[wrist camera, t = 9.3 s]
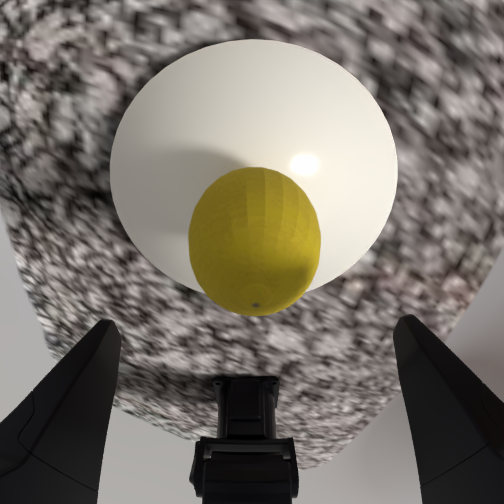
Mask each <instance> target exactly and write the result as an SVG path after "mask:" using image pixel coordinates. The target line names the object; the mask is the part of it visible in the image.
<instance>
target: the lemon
mask: <svg viewBox="0 0 504 504" xmlns="http://www.w3.org/2000/svg"><path fill="white" fill-rule="evenodd" d="M188 245H189V258H190V263H191V267H192V270H193V272H194V275H195V278H196V280H197V282H198V284H199V285H200V287H201V288H202V289H203V291H204V292H205V293H206V295H207V296H208V297H209V298H210V299H212V300H213V301H214V302H215V303H217V304H218V305H219V306H221V307H223V308H225V309H227V310H229V311H231V312H234V313H237V314H241V315H247V316H262V315H268V314H272V313H276V312H279V311H281V310H283V309H285V308H287V307H289V306H290V305H291V304H293V303H294V302H295V301H297V300H298V299H299V298H300V297H301V296H302V295H303V294H304V292H305V291H306V290H307V289H308V287H309V286H310V285H311V283H312V280H313V278H314V276H315V273H316V271H317V268H318V265H319V258H320V248H321V232H320V227H319V223H318V218H317V214H316V211H315V209H314V207H313V205H312V204H311V202H310V200H309V198H308V197H307V195H306V193H305V192H304V191H303V190H302V189H301V188H300V187H299V186H298V185H297V184H296V183H295V182H294V181H293V180H292V179H291V178H289V177H287V176H285V175H284V174H282V173H280V172H278V171H275V170H271V169H267V168H263V167H246V168H241V169H237V170H233V171H231V172H229V173H227V174H225V175H223V176H221V177H219V178H218V179H217V180H216V181H215V182H214V183H212V184H211V185H210V186H209V187H208V188H207V189H206V190H205V192H204V193H203V195H202V196H201V198H200V199H199V201H198V203H197V204H196V206H195V208H194V211H193V214H192V218H191V222H190V225H189V231H188Z"/></svg>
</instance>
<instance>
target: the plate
mask: <svg viewBox="0 0 504 504" xmlns="http://www.w3.org/2000/svg"><path fill="white" fill-rule="evenodd" d="M246 167H263V168H267V169H271V170H275V171H278V172H280V173H282V174H284V175H285V176H287V177H289V178H291V179H292V180H293V181H294V182H295V183H296V184H297V185H298V186H299V187H300V188H301V189H302V190H303V191H304V192H305V193H306V195H307V197H308V198H309V200H310V202H311V204H312V205H313V207H314V209H315V211H316V214H317V218H318V223H319V227H320V232H321V248H320V258H319V265H318V268H317V271H316V273H315V276H314V278H313V280H312V283H311V285H310V286H309V287H308V289H307V290H306V291H305V292H307V291H310V290H313V289H315V288H317V287H319V286H321V285H324V284H326V283H328V282H330V281H331V280H333V279H334V278H336V277H337V276H339V275H341V274H342V273H344V272H345V271H346V270H347V269H349V268H350V267H351V266H352V265H354V264H355V263H356V262H357V261H358V260H359V259H360V258H361V257H362V256H363V255H364V254H365V253H366V252H367V251H368V249H369V248H370V247H371V245H372V244H373V243H374V242H375V240H376V239H377V237H378V236H379V234H380V232H381V230H382V229H383V227H384V225H385V223H386V221H387V218H388V216H389V214H390V211H391V208H392V205H393V201H394V198H395V193H396V186H397V156H396V149H395V143H394V140H393V137H392V134H391V130H390V127H389V125H388V123H387V121H386V119H385V117H384V115H383V112H382V110H381V109H380V107H379V106H378V104H377V103H376V101H375V100H374V98H373V97H372V96H371V94H370V93H369V92H368V91H367V89H366V88H365V87H364V86H363V85H362V84H361V83H360V82H359V81H358V80H357V79H356V78H355V77H354V76H353V75H351V74H350V73H349V72H348V71H346V70H345V69H344V68H342V67H341V66H340V65H338V64H337V63H335V62H333V61H331V60H330V59H328V58H326V57H324V56H323V55H321V54H319V53H316V52H314V51H311V50H308V49H306V48H303V47H300V46H297V45H293V44H288V43H284V42H279V41H272V40H255V39H250V40H238V41H228V42H224V43H220V44H216V45H212V46H208V47H205V48H202V49H200V50H197V51H195V52H192V53H190V54H187V55H185V56H183V57H182V58H180V59H178V60H177V61H175V62H173V63H172V64H170V65H168V66H167V67H165V68H164V69H163V70H162V71H160V72H159V73H158V74H157V75H155V76H154V77H153V78H152V79H151V80H150V81H149V82H148V83H147V84H146V85H145V86H144V87H143V88H142V89H141V91H140V92H139V93H138V94H137V95H136V96H135V98H134V99H133V101H132V102H131V104H130V105H129V107H128V108H127V110H126V112H125V113H124V116H123V118H122V120H121V122H120V124H119V127H118V129H117V132H116V135H115V139H114V142H113V146H112V151H111V159H110V185H111V191H112V197H113V201H114V205H115V208H116V211H117V214H118V217H119V219H120V221H121V223H122V225H123V227H124V229H125V231H126V233H127V234H128V236H129V237H130V239H131V240H132V242H133V243H134V245H135V246H136V247H137V248H138V250H139V251H140V252H141V253H142V254H143V255H144V256H145V257H146V258H147V259H148V260H149V261H150V262H151V263H152V264H153V265H154V266H155V267H157V268H158V269H159V270H160V271H162V272H163V273H164V274H166V275H167V276H169V277H170V278H172V279H174V280H175V281H177V282H179V283H181V284H183V285H185V286H187V287H189V288H191V289H194V290H196V291H199V292H202V293H205V292H204V291H203V289H202V288H201V287H200V285H199V284H198V282H197V280H196V278H195V275H194V272H193V270H192V267H191V263H190V258H189V245H188V231H189V225H190V222H191V218H192V214H193V211H194V208H195V206H196V204H197V203H198V201H199V199H200V198H201V196H202V195H203V193H204V192H205V190H206V189H207V188H208V187H209V186H210V185H211V184H212V183H214V182H215V181H216V180H217V179H218V178H219V177H221V176H223V175H225V174H227V173H229V172H231V171H233V170H237V169H241V168H246ZM305 292H304V293H305ZM205 294H206V293H205Z"/></svg>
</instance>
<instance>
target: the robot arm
mask: <svg viewBox="0 0 504 504" xmlns="http://www.w3.org/2000/svg"><path fill="white" fill-rule="evenodd" d="M393 341H394V347H395V354H396V361H397V368H398V375H399V380H400V385H401V389H402V393H403V397H404V402H405V406H406V411H407V415H408V420H409V425H410V430H411V434H412V440H413V445H414V450H415V456H416V461H417V468H418V474H419V481H420V485H421V486H420V488H421V495H422V503H423V504H504V403H503V402H502V401H501V400H500V399H499V398H498V397H497V396H496V395H495V394H494V393H493V392H492V391H491V390H490V389H489V388H488V387H487V386H486V385H485V384H484V383H482V381H481V380H480V379H479V378H478V377H477V376H476V375H475V374H474V373H473V372H472V371H471V370H470V369H469V368H468V367H467V366H466V365H465V364H464V363H463V362H462V361H461V360H460V359H459V358H458V357H457V356H456V355H455V354H454V353H453V352H452V351H451V350H450V349H449V348H448V347H447V346H446V345H445V344H444V343H443V342H442V341H441V340H440V339H439V338H438V337H437V336H436V335H435V334H434V333H433V332H431V331H430V330H429V329H428V328H427V327H426V326H425V325H424V324H423V323H422V322H421V321H420V320H419V319H418V318H417V317H415V316H414V315H412V314H408V315H402V316H401V317H400V318H399V320H398V323H397V325H396V327H395V329H394V332H393ZM120 350H121V335H120V333H119V331H118V329H117V327H116V325H115V323H114V321H113V320H108V319H102V320H100V321H99V322H98V323H97V324H96V325H95V326H94V327H93V328H92V329H91V330H90V331H89V332H88V333H87V334H86V335H85V336H84V337H83V338H82V339H81V340H80V341H79V342H78V343H77V344H76V345H75V346H74V347H73V348H72V349H71V350H70V351H69V352H68V353H67V354H66V355H65V356H64V357H63V358H62V359H61V360H60V361H59V362H58V363H57V364H56V365H55V367H54V368H53V369H52V370H51V371H50V372H49V373H48V374H47V375H46V376H45V377H44V378H43V380H41V381H40V383H39V384H38V385H37V386H36V387H35V388H34V389H33V391H31V392H30V393H29V394H28V396H27V397H26V398H25V399H24V400H23V401H22V402H21V403H20V404H19V405H18V406H17V407H16V408H15V409H14V410H13V411H12V412H11V413H10V414H9V415H8V416H7V417H6V418H5V419H4V420H3V421H2V422H0V504H97V498H98V489H99V481H100V473H101V466H102V459H103V453H104V447H105V441H106V435H107V429H108V424H109V419H110V414H111V409H112V404H113V399H114V394H115V389H116V384H117V376H118V367H119V358H120ZM213 387H214V392H215V396H216V400H217V404H218V407H219V409H218V426H217V438H207V437H204V436H201V438H200V441H197V442H196V444H195V455H194V460H193V464H192V469H191V473H190V477H189V481H190V482H191V483H192V484H193V485H194V489H195V491H196V496H197V497H202V504H292V498H297V495H298V488H299V476H298V467H297V460H296V454H295V447H294V441H293V437H289V438H285V439H276V422H275V408H276V407H277V401H278V392H279V378H275V377H272V378H214V379H213ZM210 456H211V458H210Z"/></svg>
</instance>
